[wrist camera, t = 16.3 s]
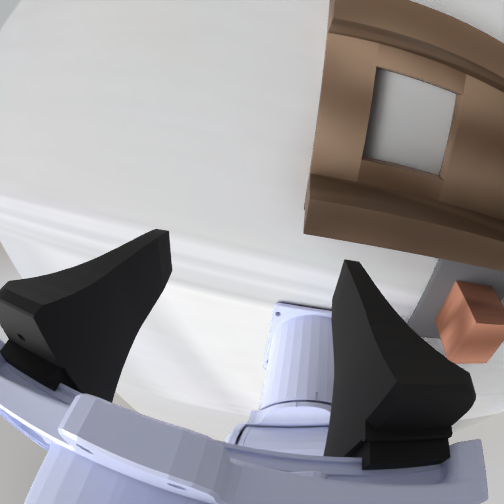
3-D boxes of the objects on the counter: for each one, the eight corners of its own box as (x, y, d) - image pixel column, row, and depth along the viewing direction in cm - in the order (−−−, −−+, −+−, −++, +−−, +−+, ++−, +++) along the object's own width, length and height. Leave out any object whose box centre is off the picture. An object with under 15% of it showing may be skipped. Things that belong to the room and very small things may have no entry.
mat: (473, 336, 24) (474, 340, 23) (403, 330, 25) (404, 335, 24) (515, 266, 19) (517, 269, 18) (443, 249, 20) (445, 253, 19)
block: (470, 323, 22) (485, 363, 18) (434, 320, 23) (448, 363, 19) (491, 286, 20) (513, 325, 16) (455, 280, 20) (476, 323, 16)
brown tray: (536, 256, 18) (562, 291, 13) (304, 203, 20) (301, 241, 16) (578, 117, 10) (616, 134, 6) (329, 0, 12) (336, -27, 8)
